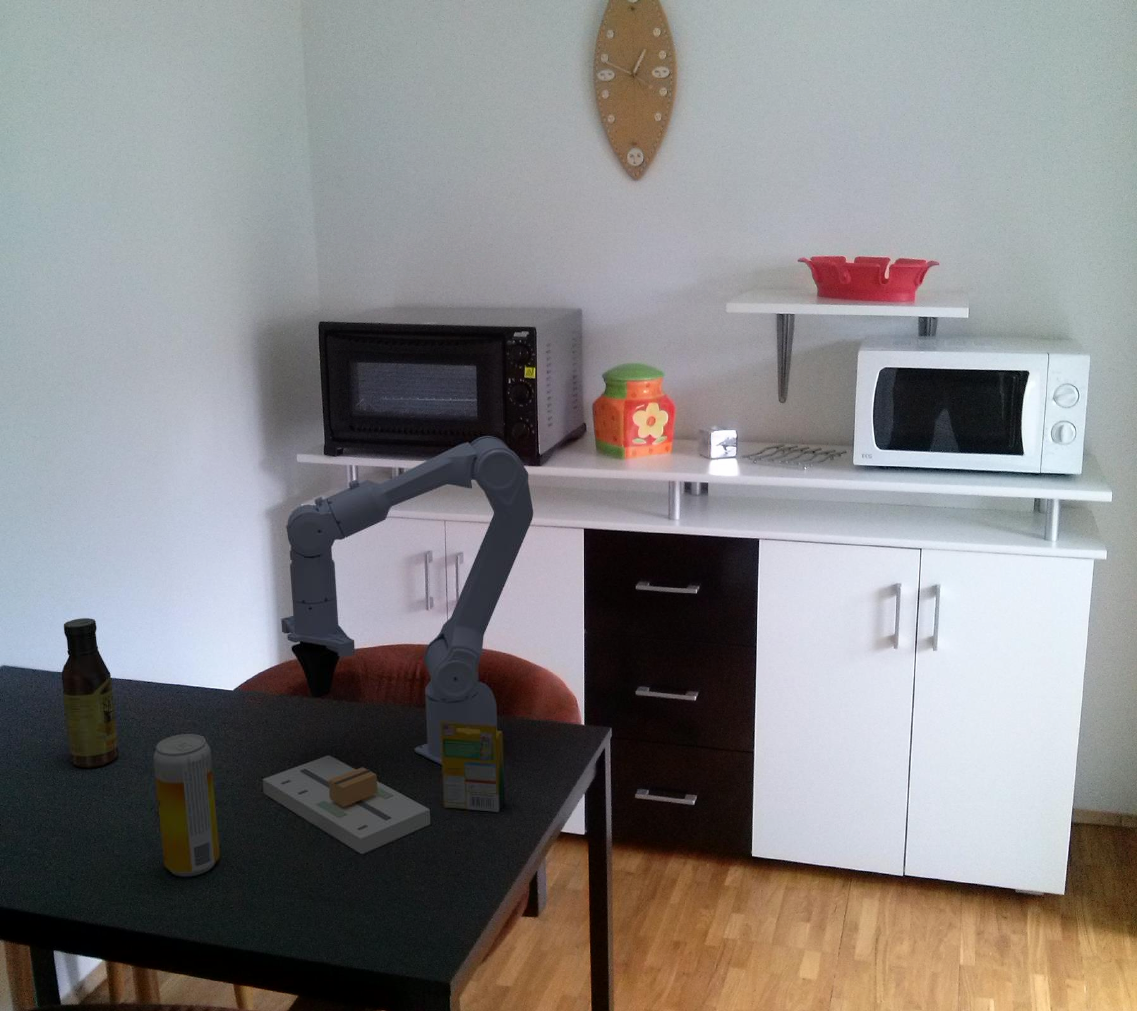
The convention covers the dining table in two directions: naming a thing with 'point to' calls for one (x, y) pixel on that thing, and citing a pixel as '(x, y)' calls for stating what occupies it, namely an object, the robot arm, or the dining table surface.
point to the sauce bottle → (88, 698)
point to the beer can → (186, 804)
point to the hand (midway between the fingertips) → (320, 694)
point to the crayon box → (472, 766)
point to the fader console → (352, 823)
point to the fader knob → (353, 786)
